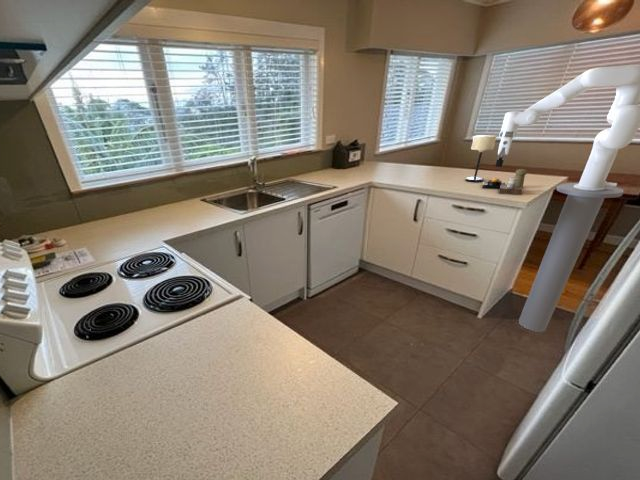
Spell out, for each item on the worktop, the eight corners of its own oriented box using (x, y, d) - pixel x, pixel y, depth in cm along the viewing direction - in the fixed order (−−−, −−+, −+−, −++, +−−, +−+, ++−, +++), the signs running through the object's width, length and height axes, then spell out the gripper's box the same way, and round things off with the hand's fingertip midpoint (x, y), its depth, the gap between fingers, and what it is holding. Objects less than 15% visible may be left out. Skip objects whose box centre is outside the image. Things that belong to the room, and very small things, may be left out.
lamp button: (498, 181, 187) (499, 178, 186) (498, 182, 184) (499, 179, 183) (491, 180, 189) (492, 177, 188) (491, 181, 186) (492, 179, 185)
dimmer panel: (520, 191, 176) (521, 185, 175) (520, 194, 170) (522, 189, 169) (499, 189, 182) (500, 184, 181) (498, 193, 176) (500, 188, 174)
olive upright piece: (510, 188, 183) (515, 170, 178) (510, 186, 187) (515, 168, 182) (522, 189, 179) (528, 170, 175) (522, 186, 184) (528, 168, 179)
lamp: (485, 179, 206) (496, 134, 193) (484, 183, 198) (496, 136, 185) (464, 178, 213) (474, 135, 200) (463, 182, 204) (473, 137, 192)
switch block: (504, 186, 188) (506, 179, 186) (504, 189, 182) (506, 183, 180) (483, 185, 194) (484, 178, 192) (482, 188, 188) (483, 181, 186)
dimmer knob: (515, 188, 172) (518, 178, 170) (506, 187, 174) (509, 178, 172) (515, 186, 175) (518, 177, 172) (506, 186, 177) (509, 176, 175)
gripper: (516, 135, 167) (506, 169, 175) (515, 133, 177) (506, 164, 186) (499, 136, 171) (490, 168, 179) (499, 133, 182) (491, 164, 190)
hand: (498, 166), depth 182 cm, fingers closed
